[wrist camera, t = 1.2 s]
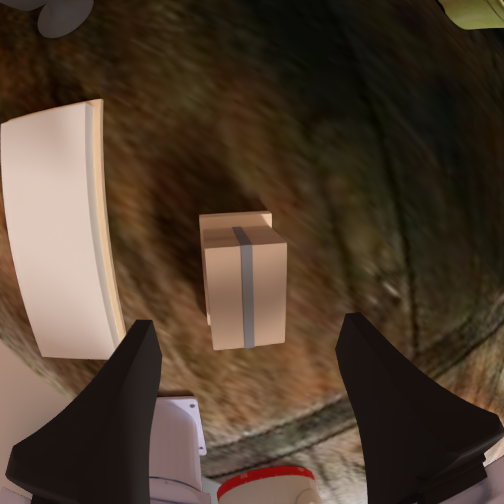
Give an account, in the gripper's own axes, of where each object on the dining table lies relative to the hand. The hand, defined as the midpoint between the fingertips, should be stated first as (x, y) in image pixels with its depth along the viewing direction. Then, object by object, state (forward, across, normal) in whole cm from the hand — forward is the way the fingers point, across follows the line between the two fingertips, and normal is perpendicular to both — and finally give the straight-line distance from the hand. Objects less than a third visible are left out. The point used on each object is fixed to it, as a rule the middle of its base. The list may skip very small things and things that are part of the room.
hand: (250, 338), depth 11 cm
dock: (+10, +13, +1) cm, 17 cm away
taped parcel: (+11, 0, +4) cm, 12 cm away
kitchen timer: (+3, -3, +37) cm, 37 cm away
